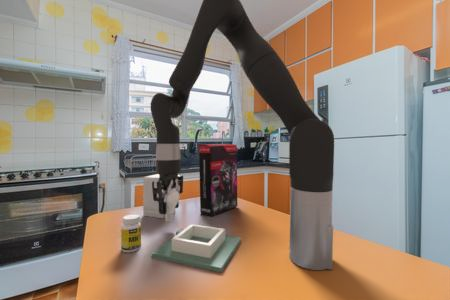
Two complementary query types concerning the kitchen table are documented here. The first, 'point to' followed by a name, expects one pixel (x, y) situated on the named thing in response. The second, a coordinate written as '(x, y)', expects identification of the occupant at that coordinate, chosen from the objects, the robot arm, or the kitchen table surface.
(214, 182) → the graphics card box
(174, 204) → the lightbulb
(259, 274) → the kitchen table surface
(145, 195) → the supplement box
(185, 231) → the board
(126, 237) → the supplement bottle
